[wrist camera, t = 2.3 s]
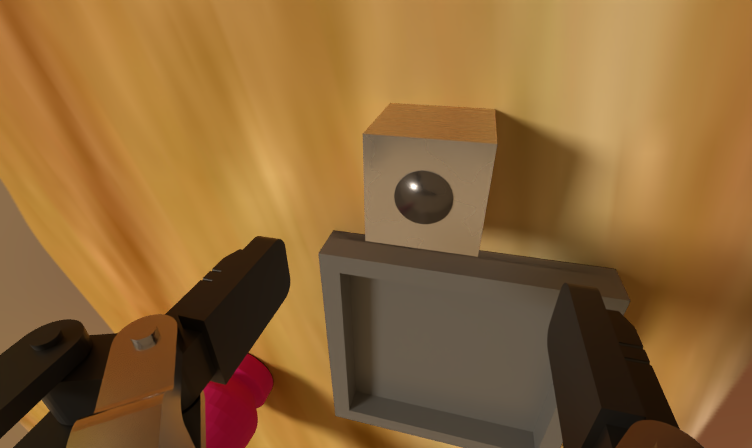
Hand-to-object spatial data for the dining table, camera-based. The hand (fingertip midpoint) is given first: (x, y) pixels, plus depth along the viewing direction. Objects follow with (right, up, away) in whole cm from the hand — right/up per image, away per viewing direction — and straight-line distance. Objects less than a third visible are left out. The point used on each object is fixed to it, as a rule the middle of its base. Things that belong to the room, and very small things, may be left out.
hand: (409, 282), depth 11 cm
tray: (+4, -7, +15) cm, 17 cm away
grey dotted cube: (+2, +5, +8) cm, 10 cm away
